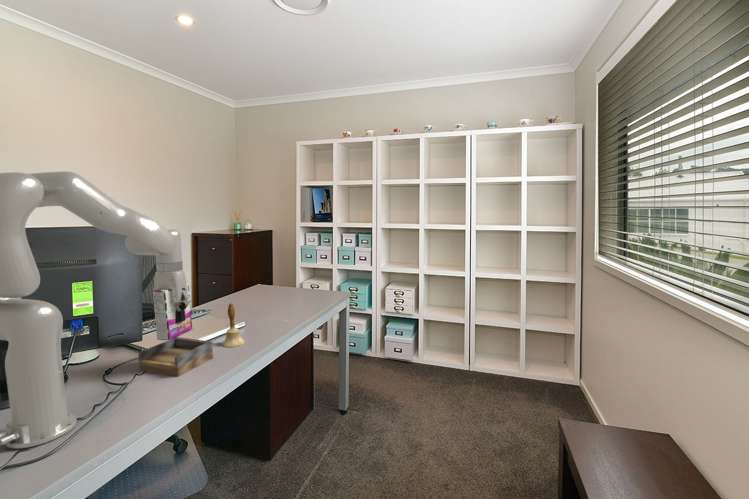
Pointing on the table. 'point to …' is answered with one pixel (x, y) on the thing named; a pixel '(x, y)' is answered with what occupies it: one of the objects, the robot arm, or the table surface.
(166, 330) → the candy bar box
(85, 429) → the table surface
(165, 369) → the wooden tray
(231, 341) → the hand bell
